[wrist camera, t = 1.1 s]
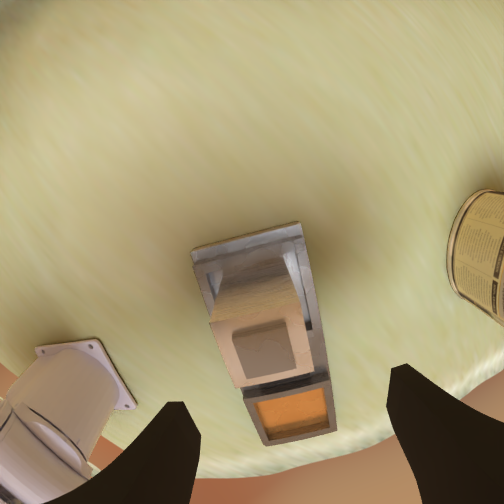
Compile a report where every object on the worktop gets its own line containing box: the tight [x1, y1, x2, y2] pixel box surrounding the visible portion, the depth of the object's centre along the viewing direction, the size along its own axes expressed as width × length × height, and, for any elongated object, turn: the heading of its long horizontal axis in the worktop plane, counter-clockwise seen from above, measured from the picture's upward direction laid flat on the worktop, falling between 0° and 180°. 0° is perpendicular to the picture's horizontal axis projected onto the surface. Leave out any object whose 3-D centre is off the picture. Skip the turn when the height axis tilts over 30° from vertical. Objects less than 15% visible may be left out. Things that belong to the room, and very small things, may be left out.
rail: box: [190, 221, 337, 446], centre depth 20 cm, size 7×20×2 cm, turn 15°
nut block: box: [209, 261, 314, 388], centre depth 15 cm, size 4×4×6 cm
